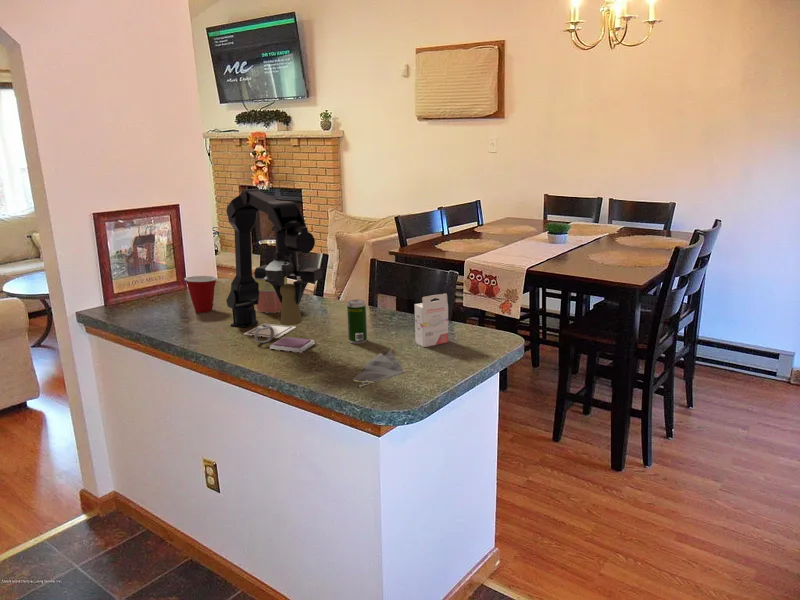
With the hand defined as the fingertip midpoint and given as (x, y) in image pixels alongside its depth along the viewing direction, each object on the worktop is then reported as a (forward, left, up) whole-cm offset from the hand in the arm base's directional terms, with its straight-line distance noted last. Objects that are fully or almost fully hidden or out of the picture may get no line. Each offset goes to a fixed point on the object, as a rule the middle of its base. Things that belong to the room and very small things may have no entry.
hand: (290, 303), depth 176 cm
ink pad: (0, 0, -13) cm, 13 cm away
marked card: (-14, +11, -13) cm, 22 cm away
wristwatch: (-10, +1, -13) cm, 16 cm away
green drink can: (+16, +10, -13) cm, 23 cm away
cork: (0, 0, -6) cm, 6 cm away
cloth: (+30, -9, -14) cm, 35 cm away
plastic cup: (-49, +25, -13) cm, 56 cm away
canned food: (-27, +34, -13) cm, 45 cm away
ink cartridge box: (+37, +15, -13) cm, 42 cm away
